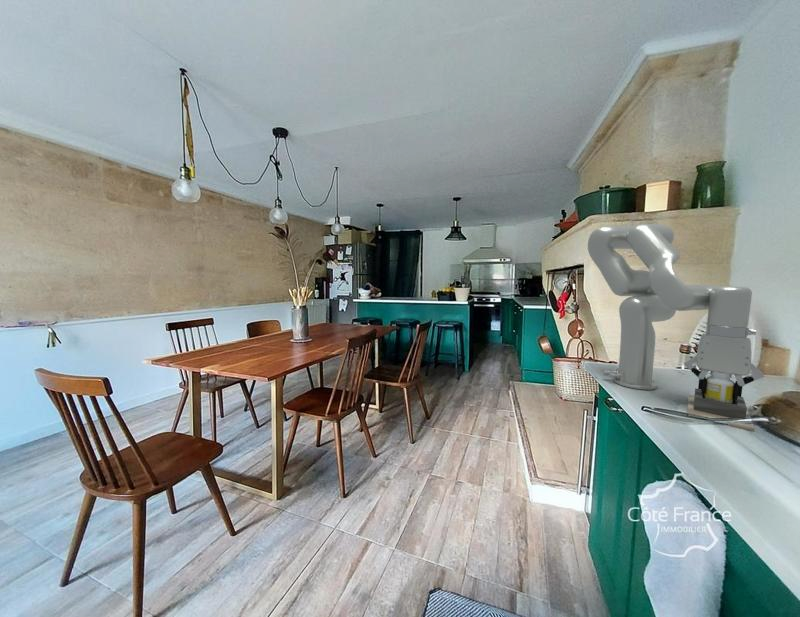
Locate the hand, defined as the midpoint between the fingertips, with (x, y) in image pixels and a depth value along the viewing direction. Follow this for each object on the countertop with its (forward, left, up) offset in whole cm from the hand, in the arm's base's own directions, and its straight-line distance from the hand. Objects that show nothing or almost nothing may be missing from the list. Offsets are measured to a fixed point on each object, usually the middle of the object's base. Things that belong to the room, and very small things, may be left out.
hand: (718, 394), depth 83 cm
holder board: (0, 0, -5) cm, 5 cm away
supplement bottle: (0, 0, -3) cm, 3 cm away
